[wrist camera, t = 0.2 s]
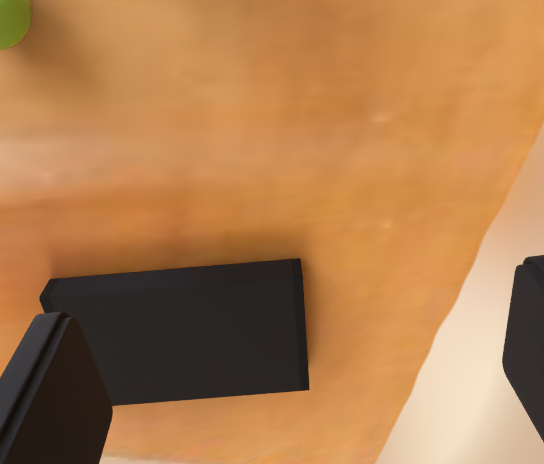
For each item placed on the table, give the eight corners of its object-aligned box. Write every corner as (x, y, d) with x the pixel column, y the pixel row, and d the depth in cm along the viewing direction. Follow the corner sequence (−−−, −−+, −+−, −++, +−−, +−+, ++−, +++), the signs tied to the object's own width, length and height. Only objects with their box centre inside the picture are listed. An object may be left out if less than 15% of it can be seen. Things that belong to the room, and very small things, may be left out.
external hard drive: (50, 278, 48) (38, 298, 45) (300, 257, 47) (303, 276, 45) (90, 386, 55) (81, 409, 52) (307, 369, 54) (310, 391, 52)
